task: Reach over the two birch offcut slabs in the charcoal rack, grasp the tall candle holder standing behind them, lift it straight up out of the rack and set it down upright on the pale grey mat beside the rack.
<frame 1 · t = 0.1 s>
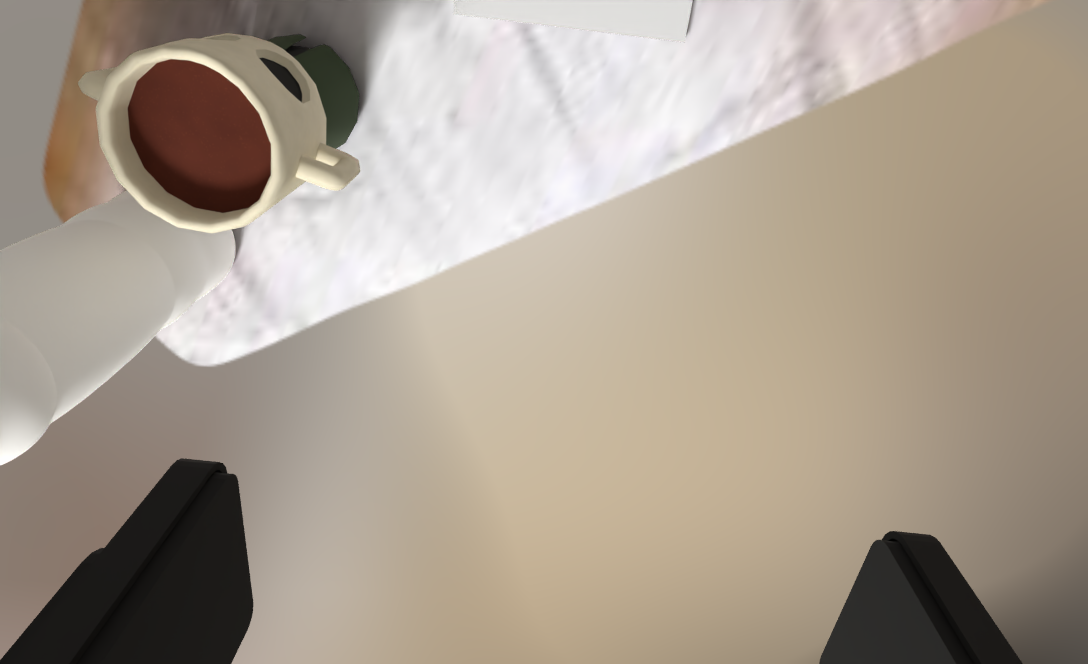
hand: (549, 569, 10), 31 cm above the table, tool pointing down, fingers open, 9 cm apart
water bottle: (183, 233, 41), on the table
character mug: (307, 95, 37), on the table
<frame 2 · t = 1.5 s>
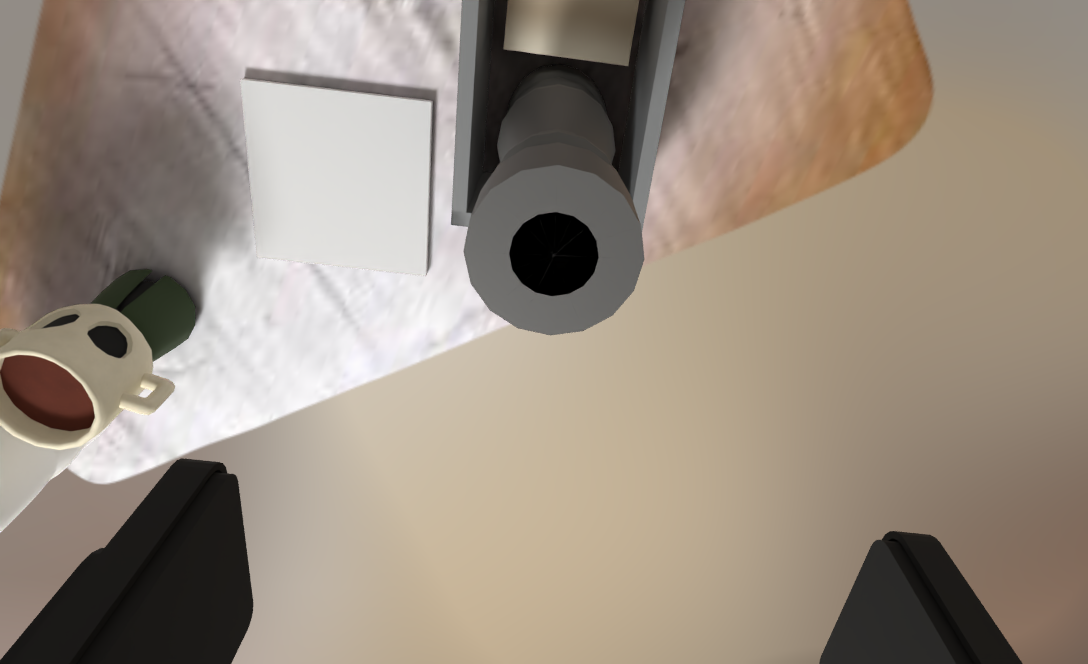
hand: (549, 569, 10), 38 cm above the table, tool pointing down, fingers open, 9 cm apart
rack: (562, 65, 42), on the table
water bottle: (76, 393, 54), on the table
mat: (341, 181, 46), on the table
candle holder: (556, 114, 43), resting in rack
character mug: (159, 303, 50), on the table
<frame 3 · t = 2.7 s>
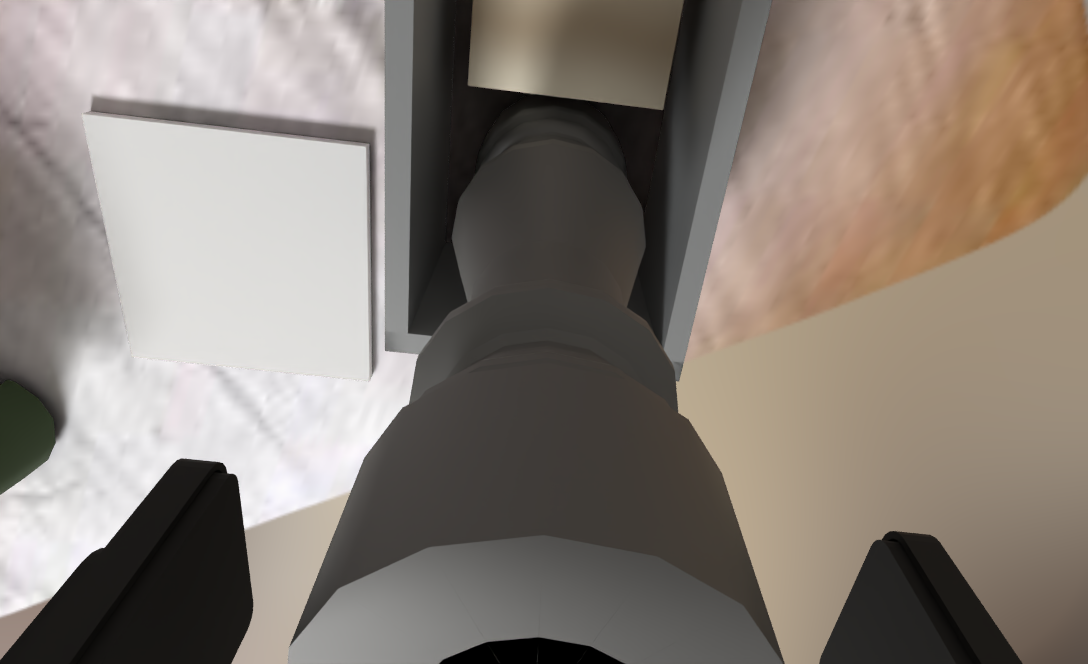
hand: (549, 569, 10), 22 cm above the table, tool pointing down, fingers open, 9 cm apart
rack: (559, 93, 28), on the table
mat: (244, 256, 32), on the table
candle holder: (551, 163, 30), resting in rack
upper offcut: (575, 2, 25), point 2 cm above the table, touching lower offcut
character mug: (8, 412, 37), on the table
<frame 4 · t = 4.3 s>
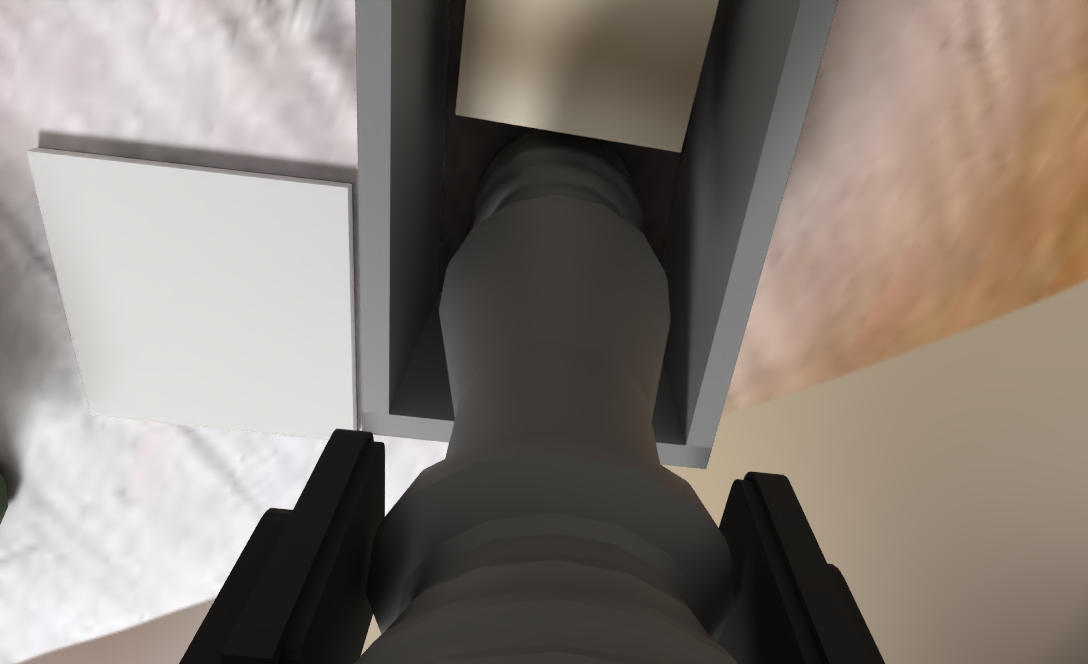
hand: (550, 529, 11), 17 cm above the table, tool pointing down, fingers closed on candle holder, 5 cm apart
rack: (566, 129, 25), on the table
mat: (213, 305, 29), on the table
candle holder: (556, 206, 26), resting in rack, touching gripper
upper offcut: (584, 23, 21), point 2 cm above the table, touching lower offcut
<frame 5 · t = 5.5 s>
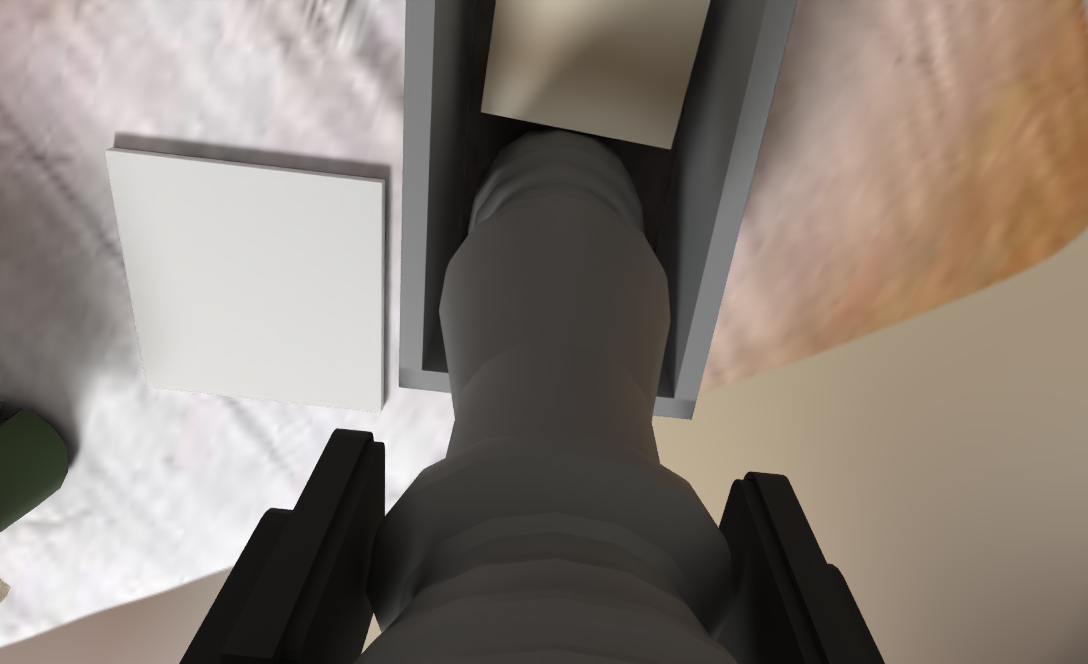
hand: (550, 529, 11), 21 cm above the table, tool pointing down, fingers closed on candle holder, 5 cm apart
rack: (572, 132, 29), on the table
mat: (259, 288, 32), on the table
candle holder: (556, 206, 26), point 4 cm above the table, touching gripper
upper offcut: (592, 38, 25), point 2 cm above the table, touching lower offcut
character mug: (22, 440, 37), on the table
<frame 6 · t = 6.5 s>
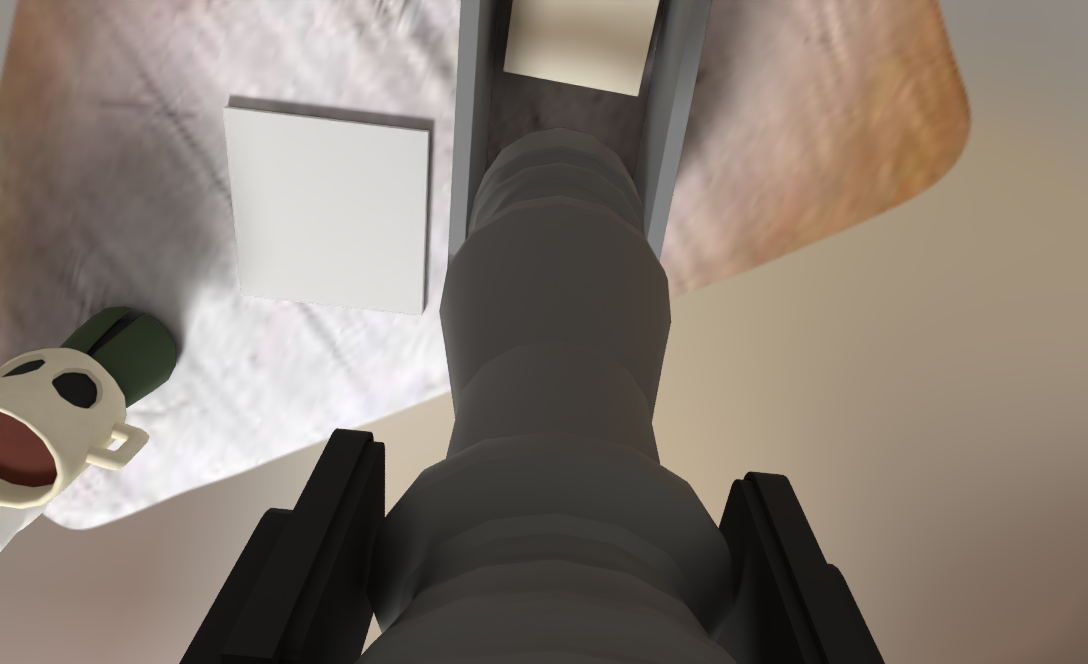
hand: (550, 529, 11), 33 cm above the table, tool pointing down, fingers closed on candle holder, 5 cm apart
rack: (569, 94, 39), on the table
water bottle: (51, 435, 51), on the table
mat: (331, 216, 42), on the table
candle holder: (557, 206, 26), point 15 cm above the table, touching gripper
upper offcut: (581, 18, 35), point 2 cm above the table, touching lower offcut
character mug: (138, 342, 47), on the table
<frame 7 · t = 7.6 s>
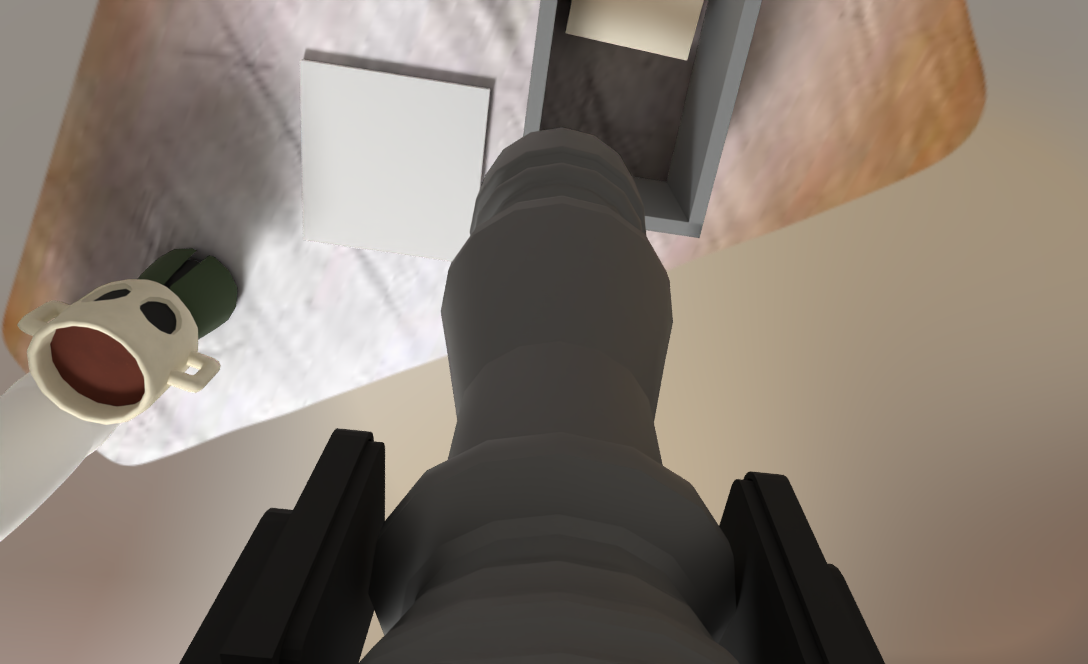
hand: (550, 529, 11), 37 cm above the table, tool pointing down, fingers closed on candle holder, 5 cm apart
rack: (622, 58, 42), on the table
water bottle: (109, 372, 54), on the table
mat: (393, 167, 46), on the table
candle holder: (558, 206, 26), point 20 cm above the table, touching gripper
character mug: (200, 284, 50), on the table
when the fingers open (19 cm above the table, at t = 12.2 s): candle holder drops 1 cm, resting on mat.
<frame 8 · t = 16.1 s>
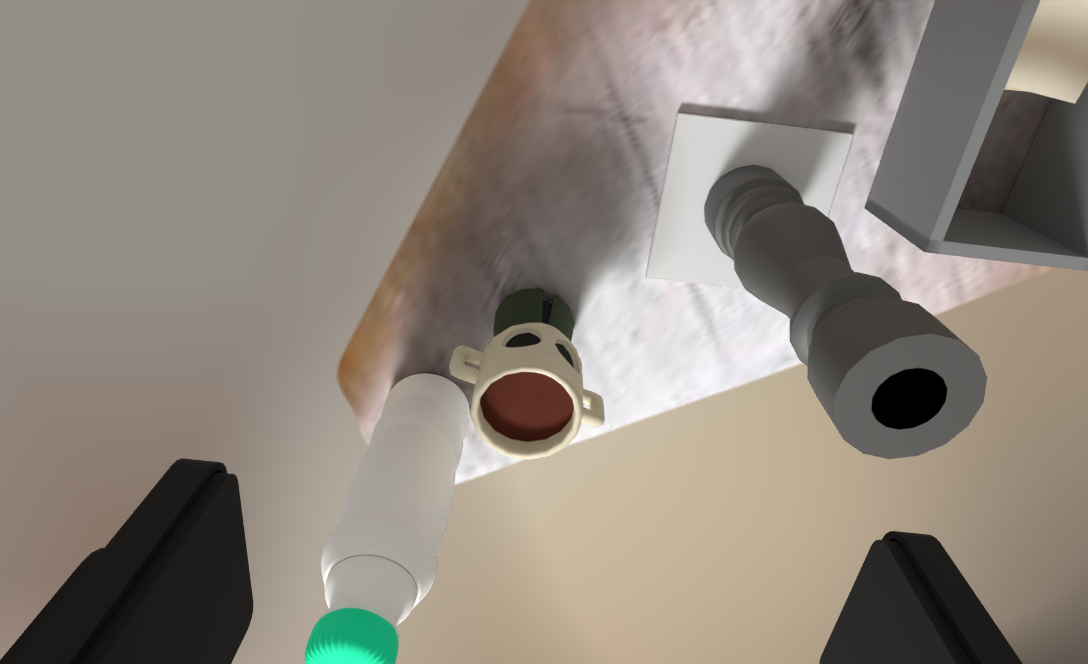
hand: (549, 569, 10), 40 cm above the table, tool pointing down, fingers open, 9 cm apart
rack: (981, 101, 45), on the table
water bottle: (429, 404, 57), on the table
mat: (742, 207, 49), on the table
candle holder: (746, 207, 48), resting on mat
upper offcut: (1024, 33, 41), point 2 cm above the table, touching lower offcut
character mug: (534, 320, 53), on the table
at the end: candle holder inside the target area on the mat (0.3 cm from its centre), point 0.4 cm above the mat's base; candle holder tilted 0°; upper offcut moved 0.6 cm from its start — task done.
